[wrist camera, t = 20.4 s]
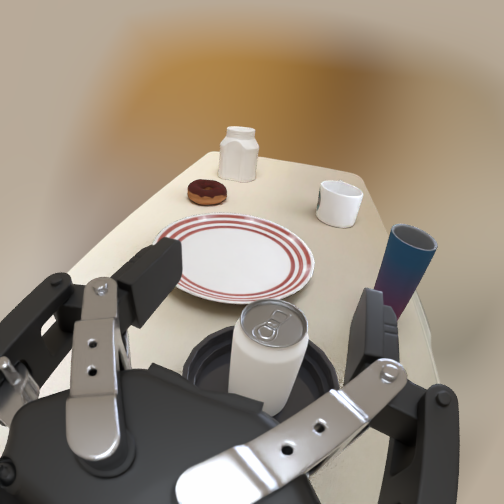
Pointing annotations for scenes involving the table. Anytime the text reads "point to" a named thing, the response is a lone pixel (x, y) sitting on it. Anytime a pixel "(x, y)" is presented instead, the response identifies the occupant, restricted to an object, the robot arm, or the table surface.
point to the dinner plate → (239, 258)
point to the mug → (338, 203)
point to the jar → (238, 155)
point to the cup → (404, 265)
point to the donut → (207, 192)
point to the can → (267, 352)
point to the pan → (218, 368)
